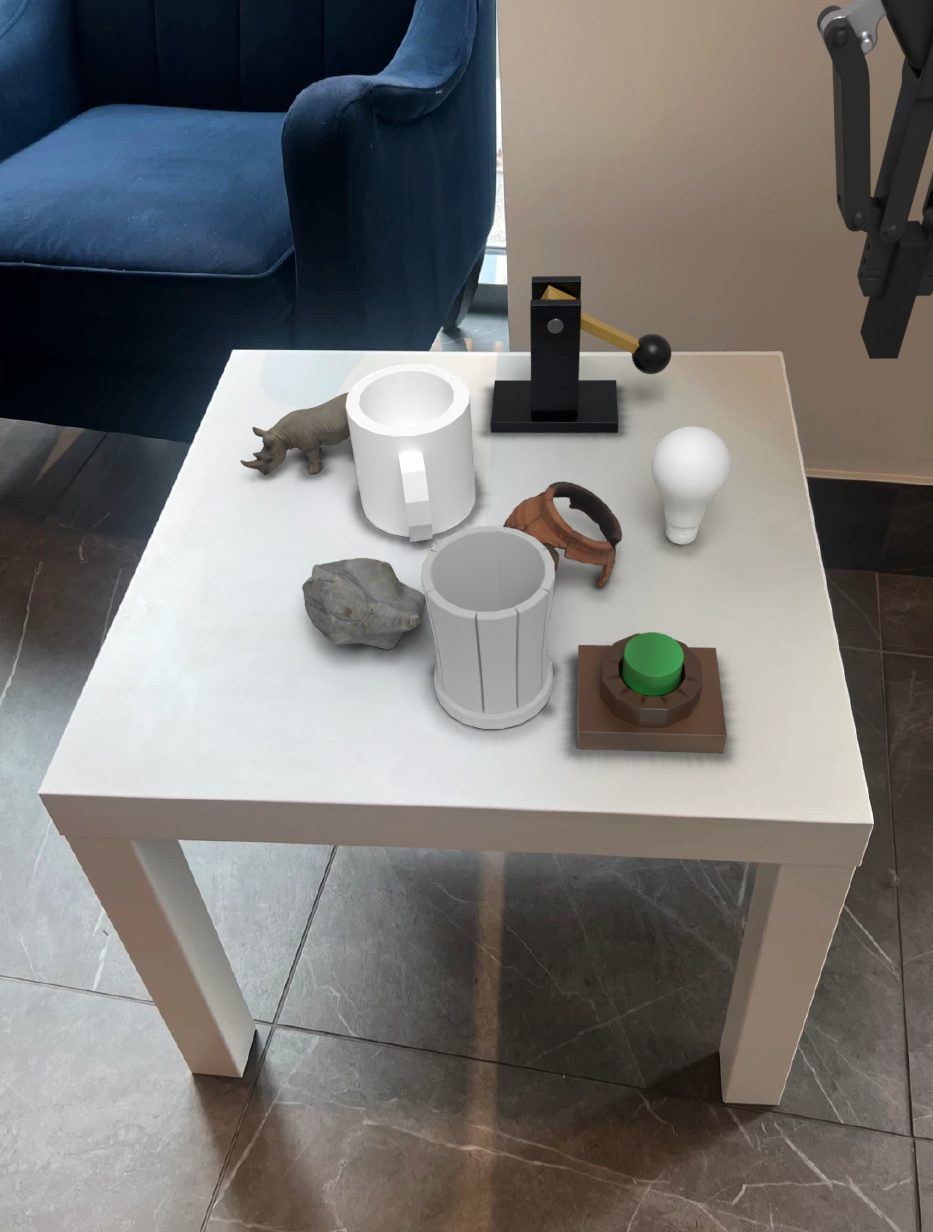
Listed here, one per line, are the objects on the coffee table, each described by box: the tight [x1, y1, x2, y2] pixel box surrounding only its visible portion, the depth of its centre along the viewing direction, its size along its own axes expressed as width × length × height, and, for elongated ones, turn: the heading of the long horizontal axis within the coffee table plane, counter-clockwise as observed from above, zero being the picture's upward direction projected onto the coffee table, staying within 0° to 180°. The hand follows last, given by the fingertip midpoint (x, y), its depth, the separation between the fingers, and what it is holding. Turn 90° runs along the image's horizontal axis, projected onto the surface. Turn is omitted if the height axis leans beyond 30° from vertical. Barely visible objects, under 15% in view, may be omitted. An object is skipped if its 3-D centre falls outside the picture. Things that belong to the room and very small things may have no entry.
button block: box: [577, 632, 728, 754], centre depth 71 cm, size 10×8×4 cm
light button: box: [622, 631, 684, 696], centre depth 69 cm, size 4×4×2 cm
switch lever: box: [540, 286, 672, 375], centre depth 91 cm, size 13×4×4 cm, turn 85°
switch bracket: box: [490, 275, 619, 434], centre depth 93 cm, size 12×7×13 cm, turn 86°
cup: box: [420, 525, 556, 730], centre depth 71 cm, size 10×9×12 cm
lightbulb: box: [650, 425, 732, 545], centre depth 80 cm, size 6×6×11 cm
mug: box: [346, 363, 476, 543], centre depth 85 cm, size 14×10×11 cm
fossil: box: [301, 557, 427, 650], centre depth 76 cm, size 11×9×8 cm
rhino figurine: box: [239, 391, 351, 477], centre depth 92 cm, size 4×14×6 cm, turn 118°
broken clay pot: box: [502, 481, 623, 588], centre depth 80 cm, size 12×10×8 cm
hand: (878, 344), depth 56 cm, fingers closed
